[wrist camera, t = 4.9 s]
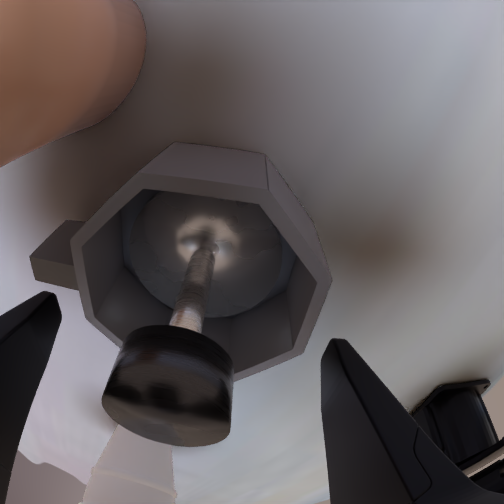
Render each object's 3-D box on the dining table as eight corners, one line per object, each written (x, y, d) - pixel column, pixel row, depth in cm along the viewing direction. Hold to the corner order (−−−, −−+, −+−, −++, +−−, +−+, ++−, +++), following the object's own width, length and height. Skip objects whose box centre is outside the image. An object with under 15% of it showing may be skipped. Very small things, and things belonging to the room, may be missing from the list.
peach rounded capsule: (160, -24, 7) (72, -94, 2) (136, 133, 10) (32, 195, 5) (28, 0, 6) (-81, -4, 1) (16, 132, 9) (-89, 186, 4)
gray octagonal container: (327, 166, 10) (357, 206, 7) (282, 325, 14) (287, 388, 11) (69, 136, 10) (10, 164, 7) (85, 292, 14) (54, 345, 10)
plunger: (296, 193, 10) (342, 358, 4) (265, 316, 13) (268, 471, 7) (134, 170, 10) (8, 299, 4) (137, 296, 13) (81, 437, 7)
